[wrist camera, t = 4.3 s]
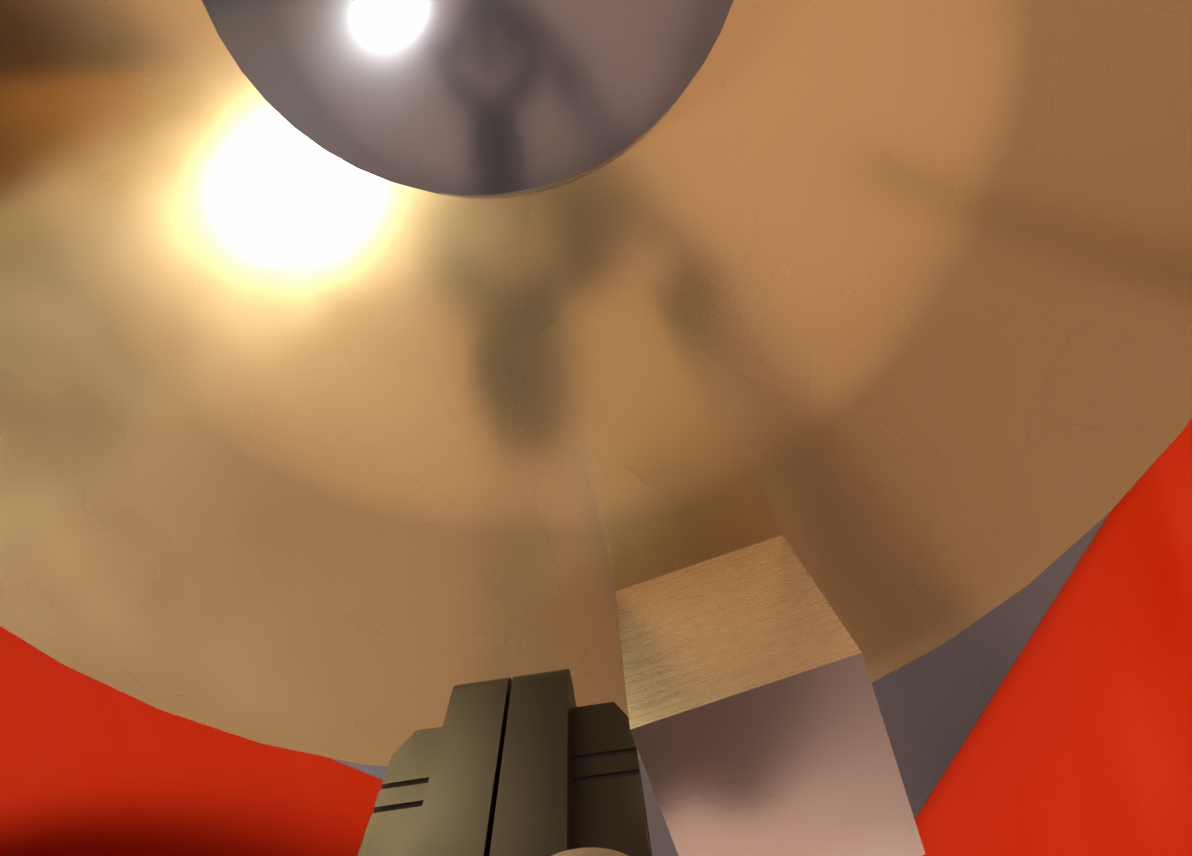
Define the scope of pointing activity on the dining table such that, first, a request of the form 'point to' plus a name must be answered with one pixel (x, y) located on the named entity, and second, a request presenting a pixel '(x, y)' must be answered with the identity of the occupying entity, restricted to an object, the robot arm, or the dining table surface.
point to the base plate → (929, 691)
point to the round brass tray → (579, 359)
